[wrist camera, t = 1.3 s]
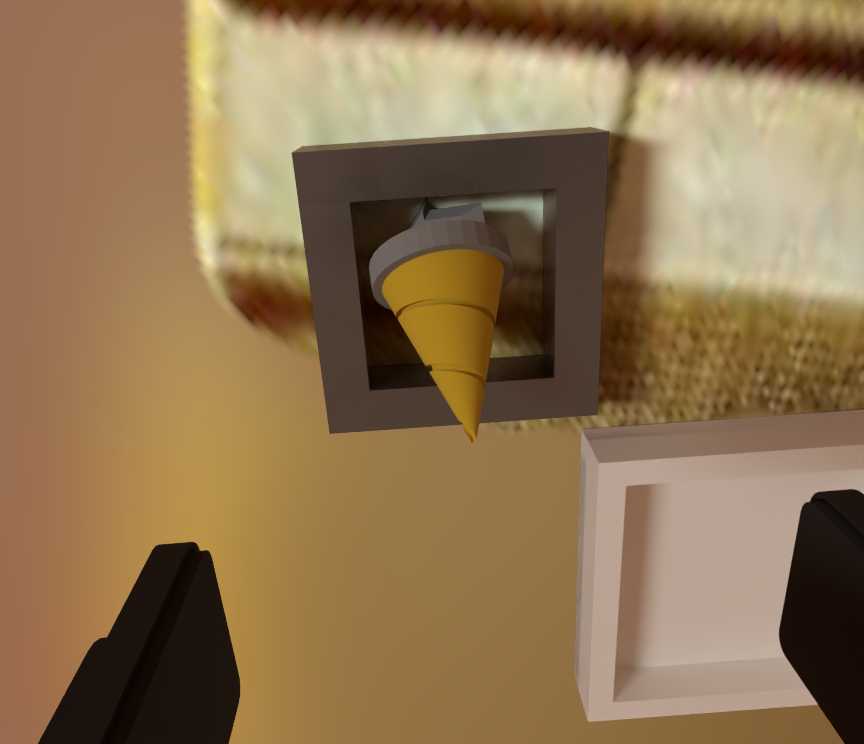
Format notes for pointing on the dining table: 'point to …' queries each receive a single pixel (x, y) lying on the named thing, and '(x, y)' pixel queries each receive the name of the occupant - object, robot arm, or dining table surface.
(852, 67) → the dining table surface
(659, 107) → the dining table surface
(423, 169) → the socket collar
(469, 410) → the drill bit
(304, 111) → the dining table surface
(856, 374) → the dining table surface
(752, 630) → the tray
